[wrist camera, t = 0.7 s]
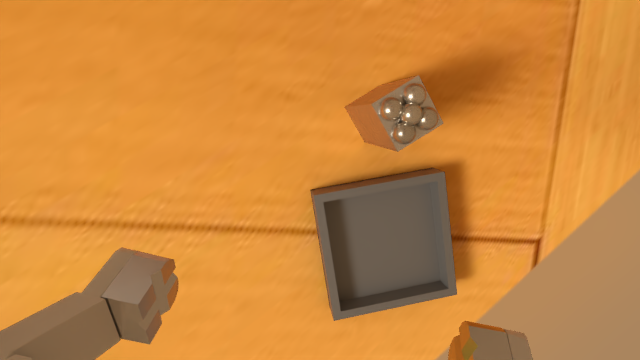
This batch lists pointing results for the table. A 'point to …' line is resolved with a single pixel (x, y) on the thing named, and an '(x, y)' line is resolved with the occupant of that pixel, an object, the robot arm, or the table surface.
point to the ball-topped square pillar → (395, 114)
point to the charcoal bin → (385, 242)
